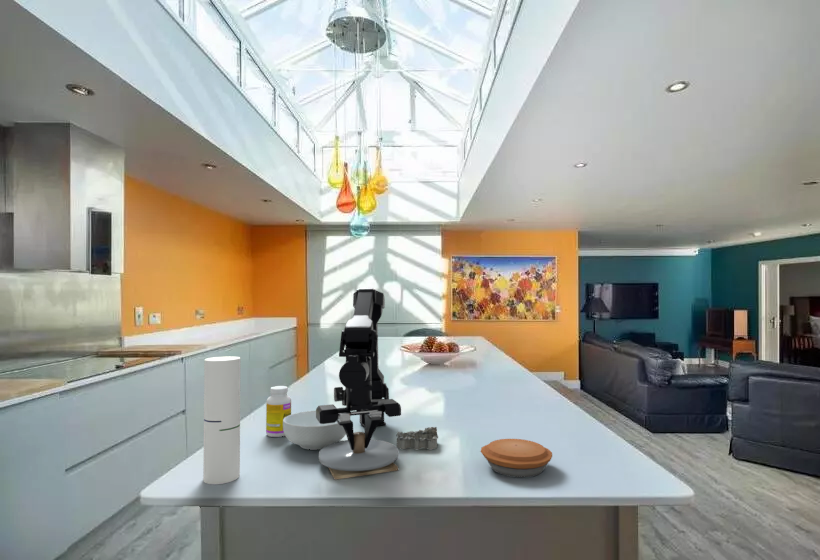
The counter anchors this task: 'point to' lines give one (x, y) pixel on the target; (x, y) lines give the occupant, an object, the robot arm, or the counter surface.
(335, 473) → the plate
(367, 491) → the counter surface
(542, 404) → the counter surface
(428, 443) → the egg carton
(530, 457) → the pie
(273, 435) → the supplement bottle
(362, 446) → the lid
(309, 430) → the cereal bowl
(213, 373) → the cylindrical container
